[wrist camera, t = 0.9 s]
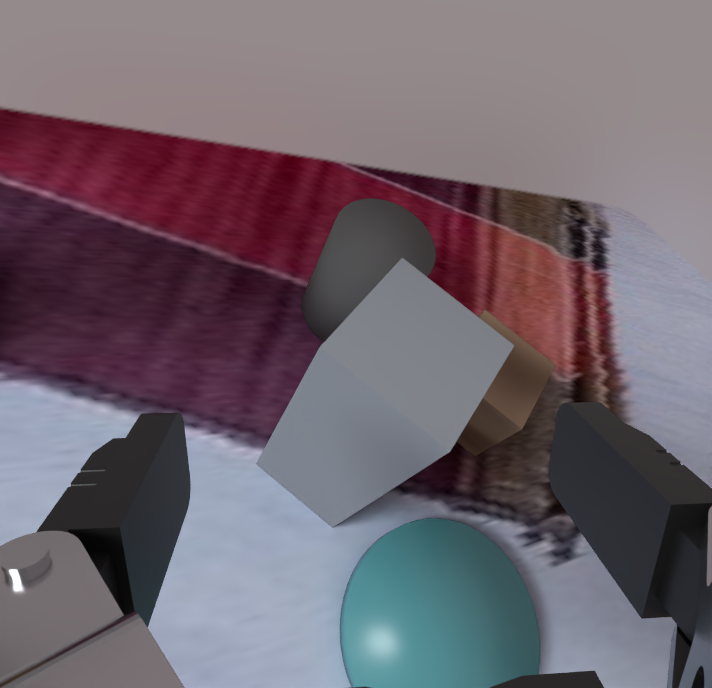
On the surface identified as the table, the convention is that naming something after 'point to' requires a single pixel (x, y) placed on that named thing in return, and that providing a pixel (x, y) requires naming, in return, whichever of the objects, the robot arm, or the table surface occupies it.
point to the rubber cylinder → (362, 259)
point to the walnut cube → (507, 393)
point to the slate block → (383, 396)
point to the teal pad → (437, 612)
